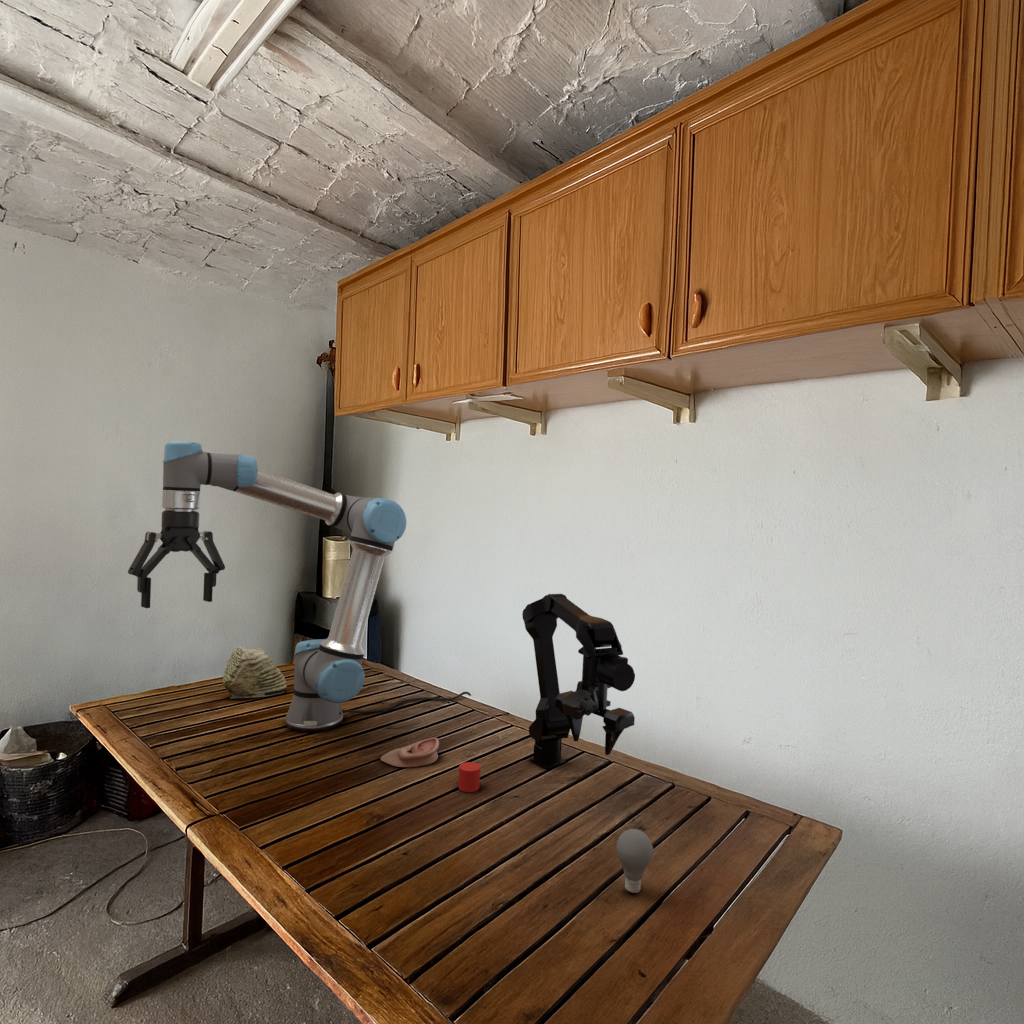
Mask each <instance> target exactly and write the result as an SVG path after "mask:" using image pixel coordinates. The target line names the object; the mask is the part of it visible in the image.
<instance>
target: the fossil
mask: <svg viewBox="0 0 1024 1024" xmlns="http://www.w3.org/2000/svg"><path fill="white" fill-rule="evenodd" d="M222 676H223V677H222V685H223V687H224V688H225V690H226V691H228V693H229V698H230V699H250V698H264V697H271V696H275V695H281V694H284V693H285V691H286V689H287V687H288V686H287V680H286V678H285V676H284V674H283V673H282V672H281V669H279V668H278V667H277V665H276V663H275V662H274V660H273V659H272V658H271V657H270V656H269V655H268V654H267V653H266V652H265V650H264V649H263V648H260V647H258V648H251V647H247V646H246V647H245V646H238V647H237V648H236V649H235V650H233V651H232V653H231V656H230V657H229V659H228V660H227V663H226V666H225V668H224V671H223V675H222Z"/></svg>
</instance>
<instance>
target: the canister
mask: <svg viewBox="0 0 1024 1024" xmlns="http://www.w3.org/2000/svg"><path fill="white" fill-rule="evenodd" d="M457 784H458V785H457V786H458V790H460V791H461V792H464V793H475V792H477V791H479V790H480V785H481V765H480V764H479V763H477V762H473V761H467V762H466V761H465V762H462V763H460V764H459V766H458V783H457Z"/></svg>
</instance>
